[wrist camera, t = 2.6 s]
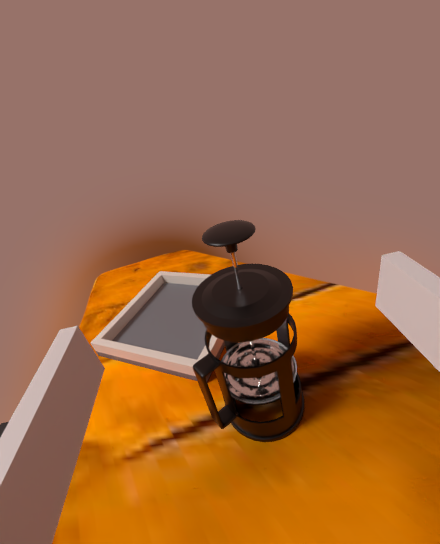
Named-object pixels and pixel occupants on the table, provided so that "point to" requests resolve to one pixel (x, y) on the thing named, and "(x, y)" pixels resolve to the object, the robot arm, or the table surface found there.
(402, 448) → the table surface
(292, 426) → the french press
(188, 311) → the serving tray
